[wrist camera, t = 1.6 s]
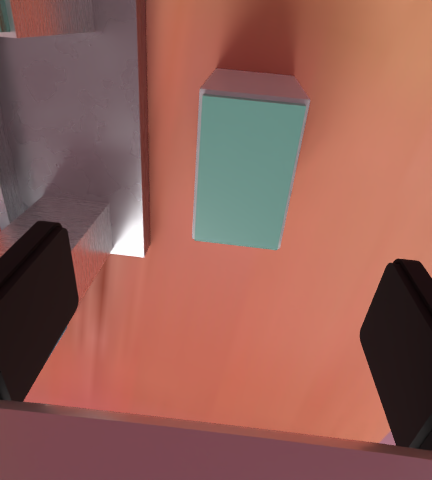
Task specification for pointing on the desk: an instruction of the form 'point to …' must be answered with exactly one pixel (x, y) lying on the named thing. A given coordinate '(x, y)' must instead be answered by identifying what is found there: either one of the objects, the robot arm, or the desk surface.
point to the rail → (75, 126)
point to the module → (246, 156)
